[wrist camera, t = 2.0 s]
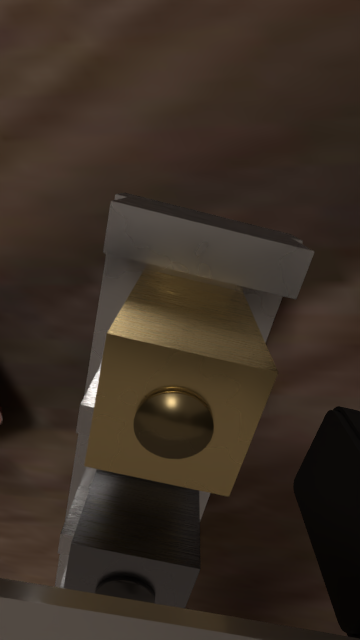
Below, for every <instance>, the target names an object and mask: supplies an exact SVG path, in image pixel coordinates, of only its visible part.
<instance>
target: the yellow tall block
mask: <svg viewBox="0 0 360 640" xmlns="http://www.w3.org/2000/svg"><path fill="white" fill-rule="evenodd" d="M277 374H278V371H277V369H276V367H275V364H274V362H273V360H272V357H271V355H270V353H269V351H268V348H267V346H266V344H265V341H264V339H263V337H262V334H261V332H260V330H259V328H258V325H257V323H256V321H255V318H254V316H253V314H252V311H251V309H250V307H249V305H248V302H247V300H246V298H245V295H244V293H243V292H240V291H236V290H231V289H227V288H223V287H219V286H215V285H211V284H206V283H202V282H198V281H194V280H190V279H186V278H181V277H177V276H173V275H169V274H165V273H161V272H157V271H152V270H148V269H144V271H143V272H142V274H141V276H140V277H139V279H138V281H137V283H136V284H135V286H134V288H133V289H132V291H131V293H130V294H129V296H128V298H127V300H126V301H125V303H124V305H123V306H122V308H121V310H120V312H119V313H118V315H117V317H116V318H115V320H114V322H113V324H112V325H111V327H110V329H109V330H108V332H107V335H106V341H105V347H104V352H103V358H102V364H101V370H100V376H99V382H98V388H97V394H96V399H95V405H94V411H93V417H92V423H91V429H90V435H89V441H88V446H87V452H86V458H85V464H84V466H85V467H90V468H95V469H99V470H104V471H109V472H114V473H118V474H123V475H128V476H133V477H137V478H142V479H147V480H152V481H156V482H161V483H166V484H171V485H175V486H180V487H185V488H190V489H194V490H199V491H204V492H209V493H213V494H218V495H223V496H228V497H229V496H230V493H231V491H232V488H233V485H234V483H235V480H236V478H237V475H238V473H239V470H240V468H241V465H242V463H243V460H244V458H245V455H246V453H247V450H248V448H249V445H250V443H251V440H252V438H253V435H254V433H255V430H256V427H257V425H258V422H259V420H260V417H261V415H262V412H263V410H264V407H265V405H266V402H267V400H268V397H269V395H270V392H271V390H272V387H273V385H274V382H275V380H276V377H277Z"/></svg>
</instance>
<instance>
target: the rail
mask: <svg viewBox="0 0 360 640" xmlns="http://www.w3.org/2000/svg"><path fill="white" fill-rule="evenodd" d="M302 242H303V241H302V240H300V239H298V238H297V237H295V236H293V235H291V234H288V233H284V232H280V231H276V230H272V229H268V228H264V227H260V226H256V225H252V224H248V223H244V222H240V221H236V220H232V219H228V218H224V217H220V216H216V215H212V214H208V213H204V212H200V211H196V210H192V209H188V208H184V207H180V206H176V205H172V204H168V203H164V202H160V201H156V200H152V199H148V198H144V197H140V196H136V195H132V194H128V193H120V194H116V195H115V200H113V201H111V204H110V211H109V217H108V224H107V230H106V237H105V244H104V250H103V253H106V259H105V266H104V272H103V279H102V285H101V292H100V298H99V305H98V311H97V317H96V324H95V330H94V337H93V343H92V350H91V356H90V363H89V369H88V376H87V382H86V389H85V395H84V398H83V400H82V402H81V404H80V409H79V416H78V422H77V429H76V433H79V434H78V440H77V447H76V453H75V460H74V466H73V473H72V479H71V485H70V492H69V498H68V505H67V511H66V518H65V524H64V526H63V529H62V531H61V535H60V542H59V548H58V553H60V557H59V563H58V569H57V576H56V582H55V586H56V587H59V588H64V582H65V576H66V570H67V564H68V558H69V552H70V546H71V542H72V539H73V536H74V533H75V530H76V527H77V525H78V522H79V519H80V516H81V513H82V510H83V507H84V504H85V501H86V498H87V495H88V493H89V490H90V487H91V484H92V481H93V478H94V475H95V472H96V469H95V468H90V467H85V466H84V464H85V458H86V452H87V446H88V441H89V435H90V429H91V423H92V417H93V411H94V405H95V399H96V394H97V388H98V382H99V376H100V370H101V364H102V358H103V352H104V347H105V341H106V335H107V332H108V330H109V329H110V327H111V325H112V324H113V322H114V320H115V318H116V317H117V315H118V313H119V312H120V310H121V308H122V306H123V305H124V303H125V301H126V300H127V298H128V296H129V294H130V293H131V291H132V289H133V288H134V286H135V284H136V283H137V281H138V279H139V277H140V276H141V274H142V272H143V271H144V269H148V270H152V271H157V272H161V273H165V274H169V275H173V276H177V277H181V278H186V279H190V280H194V281H198V282H202V283H206V284H211V285H215V286H219V287H223V288H227V289H231V290H236V291H240V292H243V293H244V295H245V298H246V300H247V302H248V305H249V307H250V309H251V311H252V314H253V316H254V318H255V321H256V323H257V325H258V328H259V330H260V332H261V334H262V337H263V339H264V341H265V343H266V340H267V338H268V335H269V332H270V330H271V327H272V324H273V321H274V319H275V316H276V313H277V310H278V308H279V305H280V302H281V300H282V297H283V296H284V297H289V298H293V299H296V298H297V296H298V293H299V291H300V288H301V285H302V283H303V280H304V278H305V275H306V272H307V270H308V267H309V265H310V262H311V259H312V257H313V254H314V251H313V250H311V249H309V248H308V247H306V246H304V245H302ZM209 496H210V493H209V492H204V491H199V506H200V521H201V518H202V515H203V512H204V510H205V507H206V504H207V501H208V499H209Z"/></svg>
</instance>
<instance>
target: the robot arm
mask: <svg viewBox="0 0 360 640" xmlns="http://www.w3.org/2000/svg"><path fill="white" fill-rule="evenodd" d="M294 493H295V496H296V499H297V502H298V505H299V508H300V511H301V514H302V517H303V520H304V523H305V526H306V529H307V532H308V534H309V537H310V540H311V543H312V546H313V549H314V552H315V555H316V558H317V561H318V564H319V567H320V570H321V573H322V576H323V579H324V582H325V585H326V588H327V591H328V594H329V597H330V600H331V603H332V606H333V609H334V612H335V615H336V617H337V620H338V623H339V625H340V627H341V629H342V630H343V631H344V632H346V633H347V635H348V637H347V636H341V635H336V634H330V633H324V632H318V631H313V630H307V629H301V628H295V627H290V626H284V625H278V624H272V623H267V622H261V621H255V620H249V619H244V618H238V617H232V616H226V615H220V614H214V613H208V612H202V611H196V610H190V609H184V608H178V607H173V606H167V605H161V604H155V603H149V602H143V601H137V600H131V599H125V598H119V597H113V596H107V595H101V594H95V593H89V592H83V591H77V590H71V589H64V588H58V587H52V586H46V585H40V584H33V583H27V582H21V581H15V580H9V579H2V578H0V640H360V411H357V410H353V409H348V408H344V407H339V406H338V407H336V408H334V409H333V410H329V411H328V412H327V414H326V415H325V417H324V420H323V422H322V424H321V426H320V428H319V430H318V432H317V434H316V436H315V438H314V440H313V442H312V444H311V446H310V448H309V450H308V452H307V454H306V456H305V458H304V460H303V463H302V465H301V467H300V469H299V471H298V473H297V475H296V477H295V479H294Z"/></svg>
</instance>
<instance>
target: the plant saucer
mask: <svg viewBox="0 0 360 640" xmlns="http://www.w3.org/2000/svg"><path fill="white" fill-rule="evenodd" d="M2 422H3V417H2V410H1V406H0V425H1V423H2Z"/></svg>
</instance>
